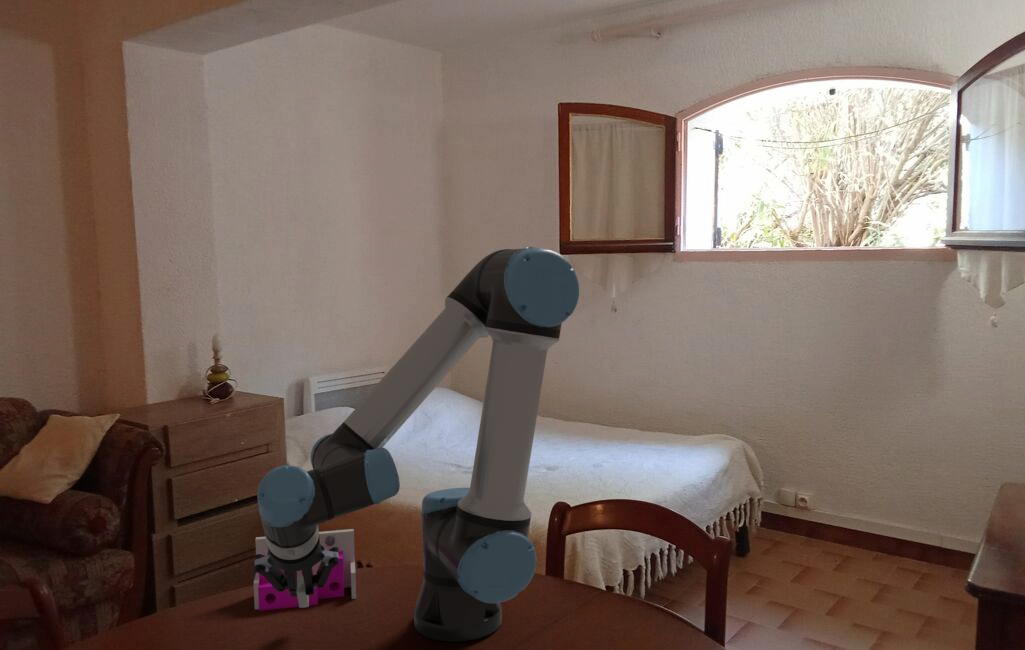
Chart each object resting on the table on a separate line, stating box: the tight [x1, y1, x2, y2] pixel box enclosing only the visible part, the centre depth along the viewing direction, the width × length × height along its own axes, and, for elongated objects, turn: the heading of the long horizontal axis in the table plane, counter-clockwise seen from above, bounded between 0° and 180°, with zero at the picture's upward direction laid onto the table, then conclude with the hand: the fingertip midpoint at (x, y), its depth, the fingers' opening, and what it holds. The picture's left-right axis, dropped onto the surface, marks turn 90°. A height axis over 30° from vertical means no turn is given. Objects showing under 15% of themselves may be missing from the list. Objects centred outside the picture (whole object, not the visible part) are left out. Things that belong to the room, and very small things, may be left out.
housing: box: [253, 528, 357, 610], centre depth 146 cm, size 7×18×11 cm, turn 103°
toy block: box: [258, 551, 345, 612], centre depth 145 cm, size 15×6×8 cm, turn 103°
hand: (304, 599), depth 134 cm, fingers closed
